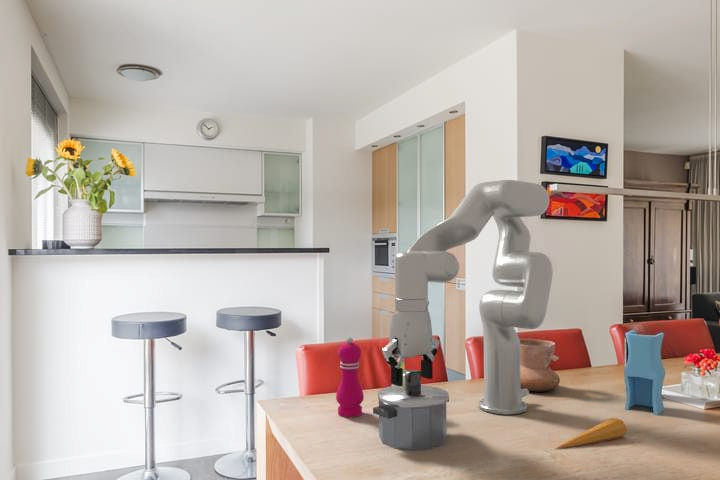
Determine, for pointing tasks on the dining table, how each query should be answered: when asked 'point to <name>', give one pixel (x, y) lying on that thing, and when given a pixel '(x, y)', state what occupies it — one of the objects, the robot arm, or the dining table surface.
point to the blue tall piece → (644, 371)
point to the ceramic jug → (537, 365)
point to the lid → (413, 393)
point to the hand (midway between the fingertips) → (412, 381)
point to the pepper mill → (349, 381)
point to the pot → (412, 426)
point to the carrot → (598, 433)
